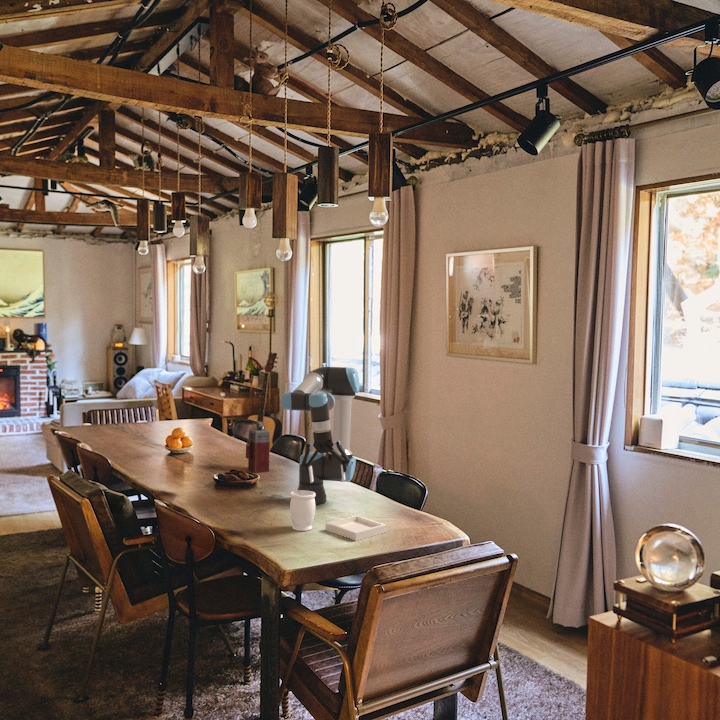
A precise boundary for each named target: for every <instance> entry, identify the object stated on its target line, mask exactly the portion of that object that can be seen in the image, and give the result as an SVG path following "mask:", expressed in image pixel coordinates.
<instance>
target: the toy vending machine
mask: <svg viewBox="0 0 720 720" xmlns="http://www.w3.org/2000/svg"><path fill="white" fill-rule="evenodd" d="M255 427H256V428H250V429H249V430H248V440H246V444H245V458H246V459H247V460H248V463H247V471H249V472H251V473H254V474H260V473H261V474H262V473H268V472H270V449H271V448H270V447H271V446H270V445H271V444H270V443H271V432H270V431H271V430H268V429H265V428H263V427H264V423H263V422H262V421H257V422H256V425H255Z"/></svg>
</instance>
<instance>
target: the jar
mask: <svg viewBox="0 0 720 720" xmlns="http://www.w3.org/2000/svg"><path fill="white" fill-rule="evenodd" d="M315 496H316V493H315V492H312V491H306V490H299V491H297V490H294V491H291V492H290V497H291V498H290V503H289V512H290V518H291V523H292V526H291V528H292V530H294V531H297V532H307V531H311V530H312V529H313V525H312V524H313V523H314V520H315V519H314V518H315V513H316V505H315V498H314V497H315Z"/></svg>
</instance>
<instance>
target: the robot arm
mask: <svg viewBox="0 0 720 720" xmlns="http://www.w3.org/2000/svg"><path fill="white" fill-rule="evenodd" d="M321 391H322V392H321ZM359 392H360V377H359V372H358V371H357V369H355V368H353V367H345V366H343V367H341V366H340V367H338V366H321V367H317V368H315V369H313V370H311V371H309V372H308V373H306V374H305V376H304V377H303V380H302V381H301V383H300V384H298V386H297V387H295V389H294V390H293V391H284V392H283V393H282V395H281V399H280V405H281V408H282V409H283V410H286V411H287V410H288V411H302V412H310V419H311V429H312V435H313V443H312V442H308V443H306V450H305V453H303V454H301V455H300V458H299V463H298V465H299V468H298V470H299V472H298V473H299V474H298V477H299V478H298V487H297V490H296V491H299V490H306V491H312V492H315V493H316V496H315V497H314V498H315V506H316V505H321V504H324V503H326V502H327V494H326V490H325V487H324V481H331V482H340V483H342V482H343V483H345V482H346V483H347V482H348V483H349V482H351V480H353V478H354V474H355V471H356V470H355V469H356V465H357V459H356V458H355V457H354V456H353V452H352V451H351V449H350V448H351V430H352V406H353V399H355V397H356V394H357V393H359ZM332 409H333V413H332V414H333V415H332V430H331V418H330V411H331V410H332ZM313 447H314V450H315V451H311V450H312V448H313ZM325 454H327V455H325Z"/></svg>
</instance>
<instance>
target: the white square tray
mask: <svg viewBox="0 0 720 720" xmlns="http://www.w3.org/2000/svg"><path fill="white" fill-rule="evenodd" d="M325 531H326V532H330V533H332V534H335V535H337V534H338V535H337V536H340V535H341V537H343V536H344V538H346V537H347V538H346V539H348V538H350V539H349V540H351V539H352V540H351V541H354V540H355V541H354V542H357V540H358V541H361V540H360V539H362V540H365V539H368V538H367V537H369V538H371V537H370V536H372V537H375V536H374V535H376V536H378V535H377V534H379V535H382V534H381V533H383V534H385V533H384V532H386V533H387V532H388V524H385V523H383V522H379V521H377V520H374V519H371V518H367V517H365V516H361V515H358V514H356V515H352V516H348V517H343V518H339V519H335V520H331V521H327V522H325ZM364 538H365V539H364Z"/></svg>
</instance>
